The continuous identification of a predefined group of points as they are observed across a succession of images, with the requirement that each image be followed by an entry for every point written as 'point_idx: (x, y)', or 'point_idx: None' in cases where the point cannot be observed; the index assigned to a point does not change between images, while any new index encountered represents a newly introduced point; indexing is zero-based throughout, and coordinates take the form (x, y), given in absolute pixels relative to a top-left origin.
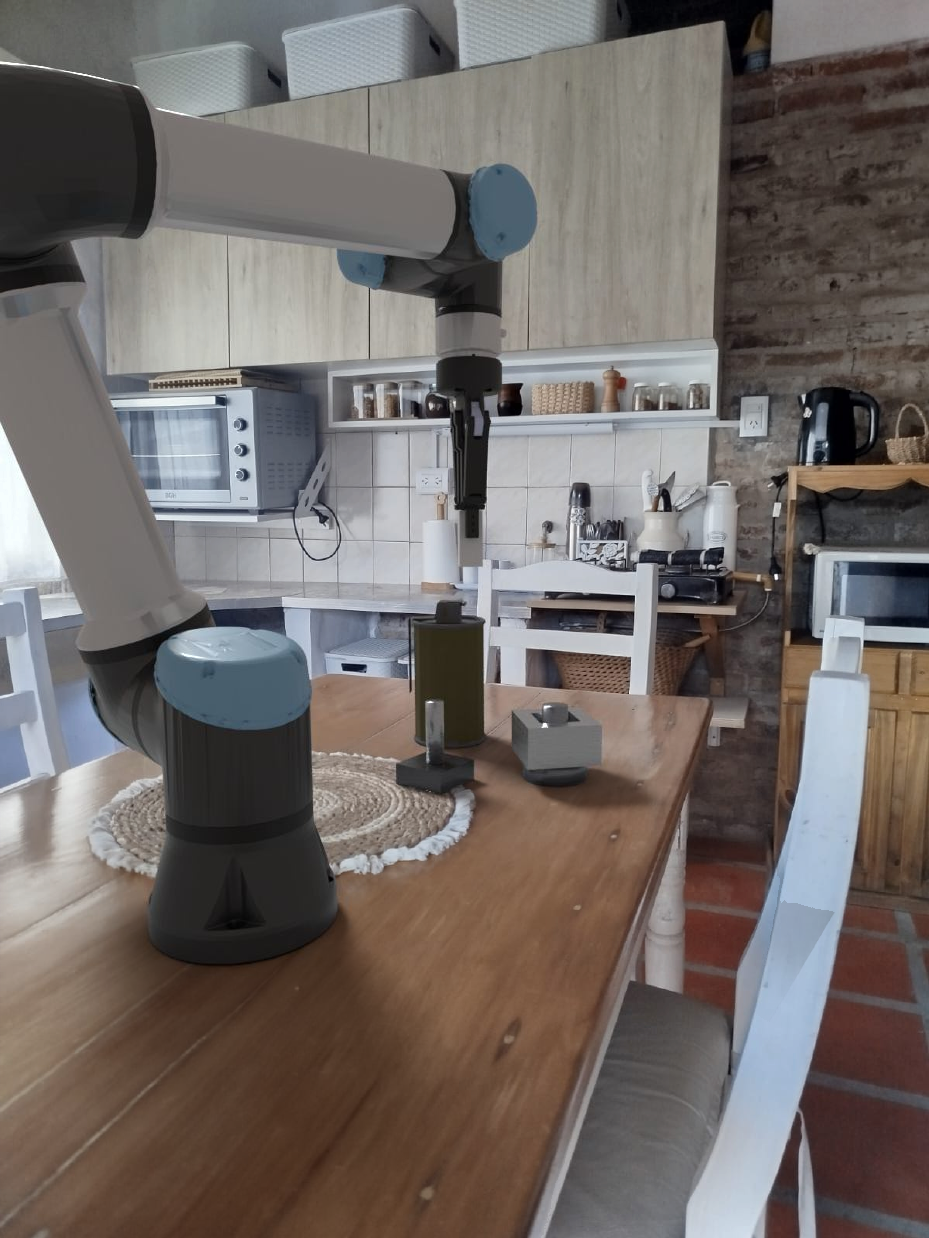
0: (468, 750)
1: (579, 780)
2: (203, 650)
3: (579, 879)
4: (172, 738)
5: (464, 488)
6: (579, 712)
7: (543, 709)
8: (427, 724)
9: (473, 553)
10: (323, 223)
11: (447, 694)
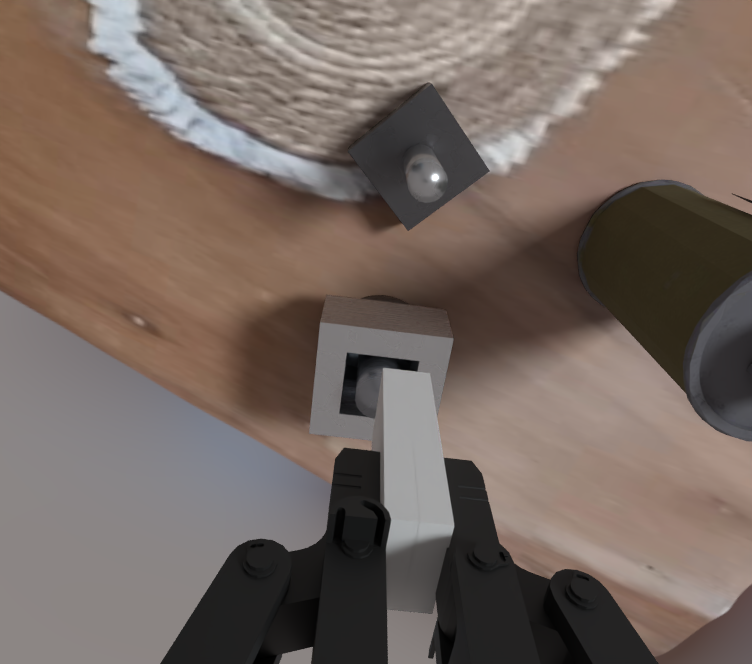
0: (559, 259)
1: None
2: None
3: (14, 230)
4: None
5: (225, 615)
6: None
7: (376, 376)
8: (418, 156)
9: (375, 439)
10: None
11: (627, 260)
